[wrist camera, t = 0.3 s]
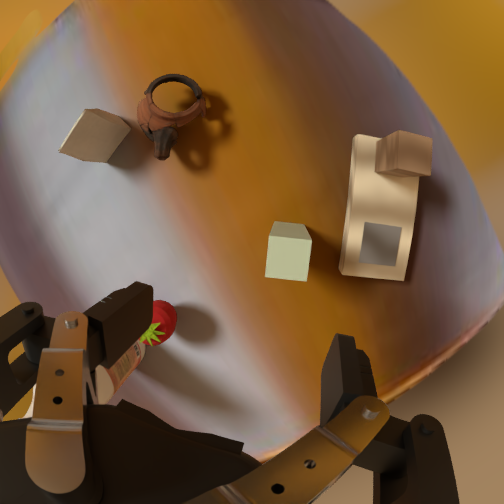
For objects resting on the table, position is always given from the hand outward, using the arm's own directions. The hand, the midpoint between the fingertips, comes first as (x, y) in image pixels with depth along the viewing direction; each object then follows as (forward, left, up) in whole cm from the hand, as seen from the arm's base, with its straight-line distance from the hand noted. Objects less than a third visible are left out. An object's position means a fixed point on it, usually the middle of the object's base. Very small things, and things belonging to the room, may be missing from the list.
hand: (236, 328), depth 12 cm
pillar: (+1, +2, -28) cm, 28 cm away
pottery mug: (-14, -15, -28) cm, 35 cm away
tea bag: (-12, -26, -28) cm, 40 cm away
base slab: (-5, +14, -28) cm, 32 cm away
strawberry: (+14, -15, -28) cm, 34 cm away
